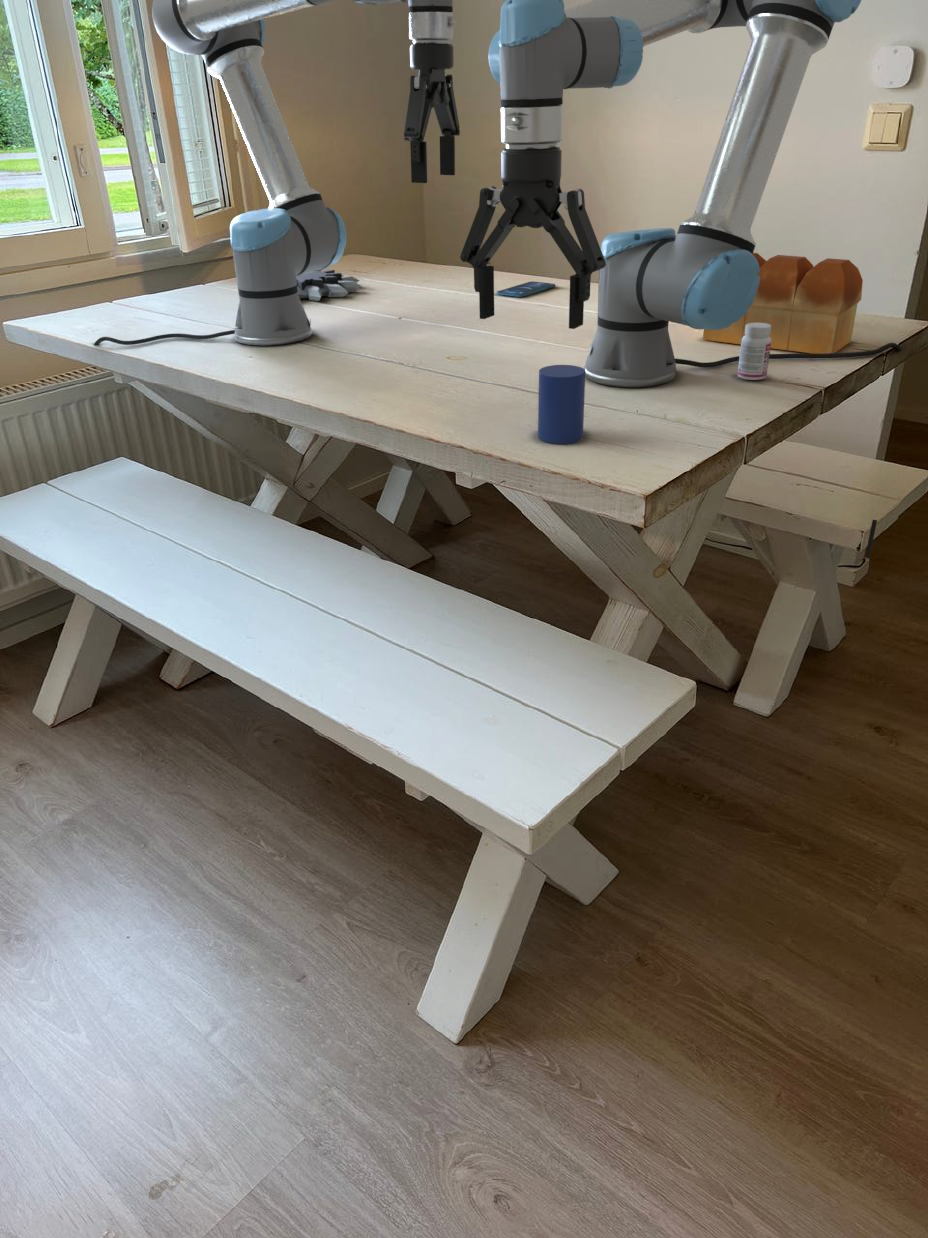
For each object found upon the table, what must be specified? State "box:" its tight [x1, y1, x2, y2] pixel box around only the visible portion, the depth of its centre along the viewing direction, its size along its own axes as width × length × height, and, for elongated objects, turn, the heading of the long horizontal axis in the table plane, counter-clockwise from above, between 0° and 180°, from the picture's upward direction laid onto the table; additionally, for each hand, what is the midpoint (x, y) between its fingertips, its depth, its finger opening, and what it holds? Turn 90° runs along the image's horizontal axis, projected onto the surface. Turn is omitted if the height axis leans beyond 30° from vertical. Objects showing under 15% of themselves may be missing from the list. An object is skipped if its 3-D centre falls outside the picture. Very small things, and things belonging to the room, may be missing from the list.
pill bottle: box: [737, 323, 772, 381], centre depth 155 cm, size 5×5×8 cm
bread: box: [702, 252, 864, 354], centre depth 174 cm, size 25×12×15 cm, turn 54°
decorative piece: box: [296, 269, 363, 302], centre depth 230 cm, size 30×4×30 cm
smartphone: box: [496, 281, 556, 298], centre depth 225 cm, size 8×1×15 cm
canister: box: [537, 364, 586, 445], centre depth 132 cm, size 6×6×9 cm
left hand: (433, 178), depth 172 cm, fingers open, 13 cm apart
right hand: (530, 321), depth 127 cm, fingers open, 13 cm apart
